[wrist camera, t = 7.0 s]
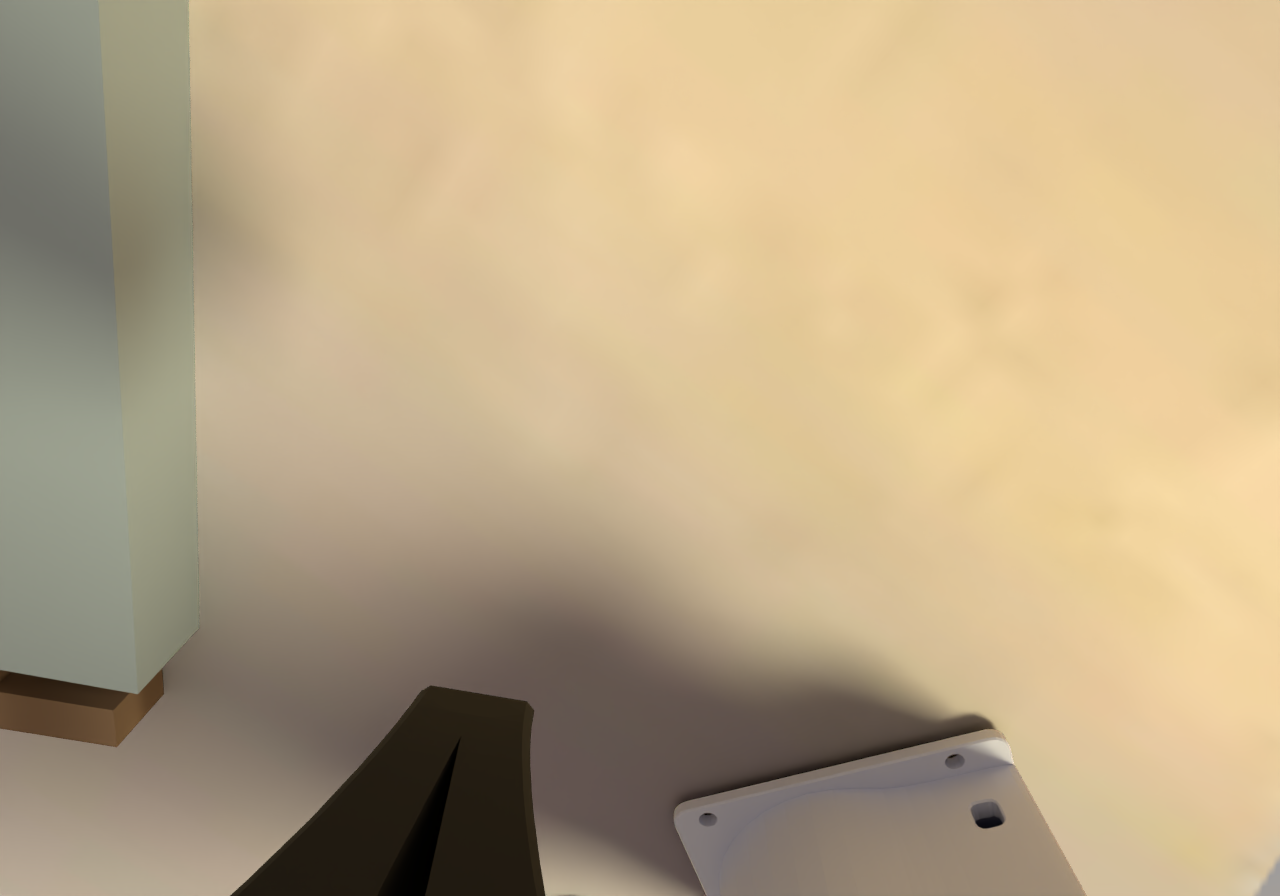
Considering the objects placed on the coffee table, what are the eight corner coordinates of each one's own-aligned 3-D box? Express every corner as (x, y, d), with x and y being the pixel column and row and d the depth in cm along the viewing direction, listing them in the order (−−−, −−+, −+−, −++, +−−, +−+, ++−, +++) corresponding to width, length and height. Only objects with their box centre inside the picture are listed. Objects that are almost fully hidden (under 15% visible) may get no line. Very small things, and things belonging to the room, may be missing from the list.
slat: (197, -56, 15) (92, -97, 12) (206, 619, 21) (137, 694, 18) (-14, -105, 15) (-170, -158, 12) (57, 592, 21) (-35, 663, 18)
